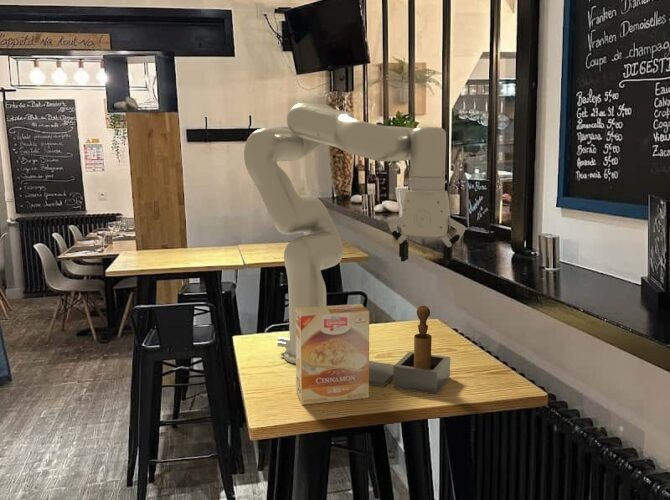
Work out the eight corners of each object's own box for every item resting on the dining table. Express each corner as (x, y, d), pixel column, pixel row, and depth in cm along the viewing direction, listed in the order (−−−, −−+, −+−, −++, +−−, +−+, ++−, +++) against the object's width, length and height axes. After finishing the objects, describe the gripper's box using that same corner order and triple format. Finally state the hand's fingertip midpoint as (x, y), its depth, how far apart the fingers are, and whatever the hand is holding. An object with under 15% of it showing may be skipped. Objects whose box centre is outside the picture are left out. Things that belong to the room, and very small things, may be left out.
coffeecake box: (301, 405, 131) (300, 315, 128) (295, 393, 138) (294, 307, 135) (370, 398, 135) (370, 310, 131) (361, 386, 141) (361, 302, 138)
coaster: (343, 380, 145) (343, 376, 145) (363, 364, 156) (363, 360, 156) (384, 386, 141) (384, 382, 141) (401, 369, 152) (401, 365, 152)
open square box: (393, 387, 141) (393, 366, 140) (409, 371, 150) (409, 351, 150) (436, 394, 136) (437, 372, 136) (449, 377, 146) (450, 357, 145)
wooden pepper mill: (414, 389, 139) (415, 310, 137) (403, 379, 146) (404, 303, 143) (441, 386, 141) (443, 308, 138) (429, 376, 147) (431, 301, 144)
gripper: (383, 184, 136) (382, 262, 139) (462, 187, 129) (459, 268, 132) (395, 182, 143) (394, 256, 146) (470, 185, 136) (467, 262, 139)
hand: (425, 262), depth 139 cm, fingers open, 9 cm apart
